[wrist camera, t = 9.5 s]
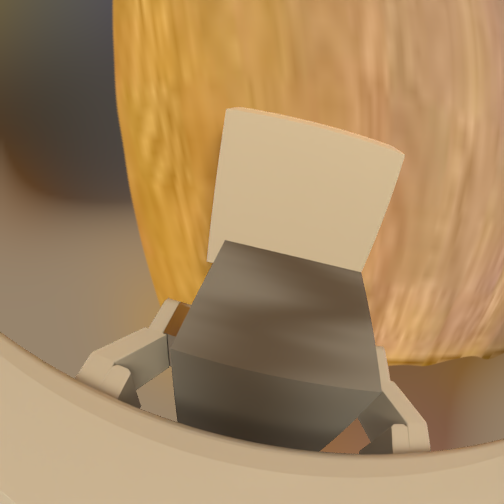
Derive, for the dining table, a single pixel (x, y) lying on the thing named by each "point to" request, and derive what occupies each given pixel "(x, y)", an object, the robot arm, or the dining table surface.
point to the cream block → (300, 188)
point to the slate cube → (275, 350)
